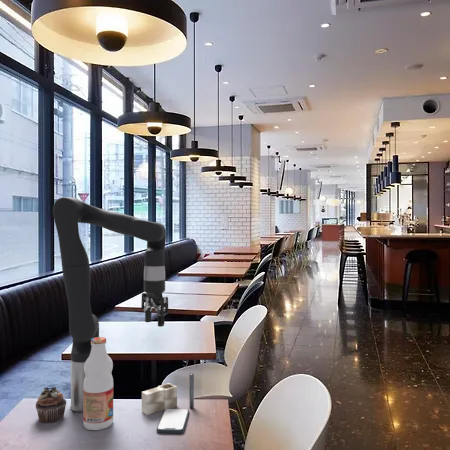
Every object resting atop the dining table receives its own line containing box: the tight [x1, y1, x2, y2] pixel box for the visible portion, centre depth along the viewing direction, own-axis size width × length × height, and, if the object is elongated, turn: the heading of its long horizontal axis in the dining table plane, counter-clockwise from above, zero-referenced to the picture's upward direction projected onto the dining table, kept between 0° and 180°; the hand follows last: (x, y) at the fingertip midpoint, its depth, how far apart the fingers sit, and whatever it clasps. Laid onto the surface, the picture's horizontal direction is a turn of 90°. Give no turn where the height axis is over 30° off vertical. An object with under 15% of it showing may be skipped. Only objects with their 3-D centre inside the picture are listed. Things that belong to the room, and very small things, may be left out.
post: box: [188, 372, 195, 409], centre depth 150 cm, size 2×2×12 cm
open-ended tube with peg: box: [141, 382, 178, 416], centre depth 149 cm, size 12×5×7 cm, turn 131°
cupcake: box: [35, 386, 67, 424], centre depth 142 cm, size 10×10×10 cm
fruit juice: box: [82, 336, 114, 431], centre depth 138 cm, size 9×9×28 cm
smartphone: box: [156, 408, 190, 435], centre depth 139 cm, size 9×2×16 cm
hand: (154, 324), depth 149 cm, fingers open, 8 cm apart
